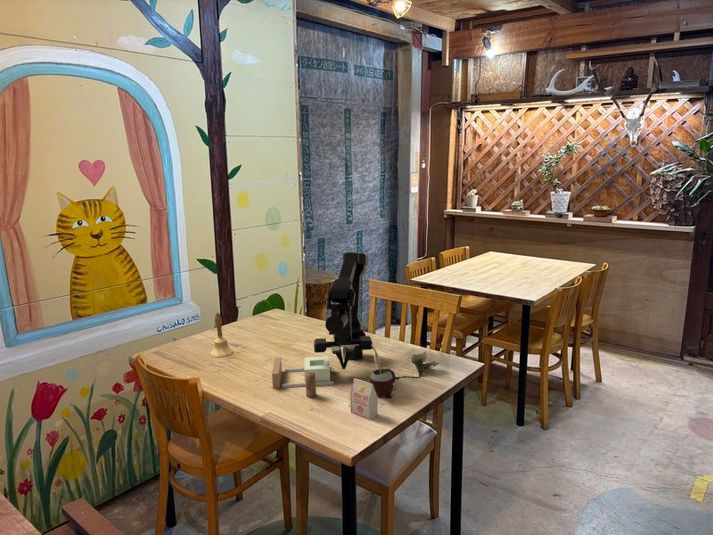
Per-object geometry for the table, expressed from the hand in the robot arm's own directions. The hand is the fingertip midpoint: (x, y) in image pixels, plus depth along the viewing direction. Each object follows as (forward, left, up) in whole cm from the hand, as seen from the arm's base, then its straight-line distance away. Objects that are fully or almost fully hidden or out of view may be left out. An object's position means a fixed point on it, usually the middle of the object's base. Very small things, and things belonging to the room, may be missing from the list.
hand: (343, 368), depth 169 cm
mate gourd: (-10, +14, -4) cm, 18 cm away
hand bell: (+45, -29, -4) cm, 53 cm away
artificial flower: (-21, +2, -4) cm, 22 cm away
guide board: (+13, 0, -4) cm, 13 cm away
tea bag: (-4, +24, -4) cm, 25 cm away
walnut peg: (+11, +13, -4) cm, 17 cm away
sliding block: (+9, 0, -2) cm, 9 cm away
